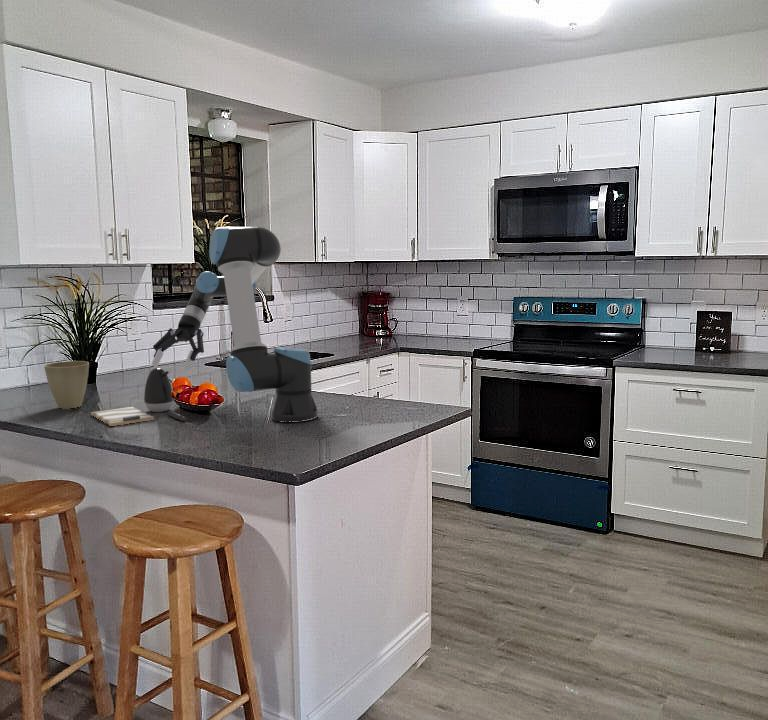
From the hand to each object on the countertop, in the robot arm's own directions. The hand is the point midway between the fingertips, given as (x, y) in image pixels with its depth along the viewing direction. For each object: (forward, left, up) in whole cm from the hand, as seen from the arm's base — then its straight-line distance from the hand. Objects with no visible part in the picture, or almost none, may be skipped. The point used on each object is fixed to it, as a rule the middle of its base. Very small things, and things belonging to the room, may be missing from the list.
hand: (170, 366), depth 265 cm
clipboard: (-8, +20, -14) cm, 26 cm away
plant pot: (+23, +29, -15) cm, 40 cm away
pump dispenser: (-5, +6, -15) cm, 17 cm away
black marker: (-21, +6, -14) cm, 26 cm away
